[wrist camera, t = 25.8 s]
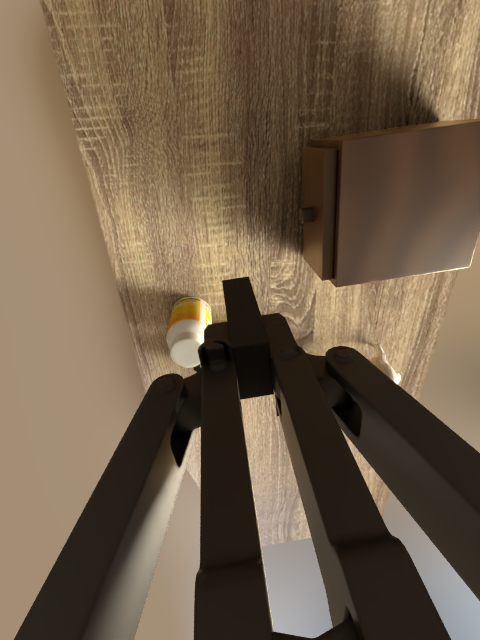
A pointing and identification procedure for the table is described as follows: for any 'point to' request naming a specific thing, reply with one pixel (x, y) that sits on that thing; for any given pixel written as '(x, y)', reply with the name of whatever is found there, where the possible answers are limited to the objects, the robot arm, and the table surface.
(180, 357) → the supplement bottle
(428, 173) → the cabinet
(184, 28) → the table surface
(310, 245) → the drawer
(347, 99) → the table surface
